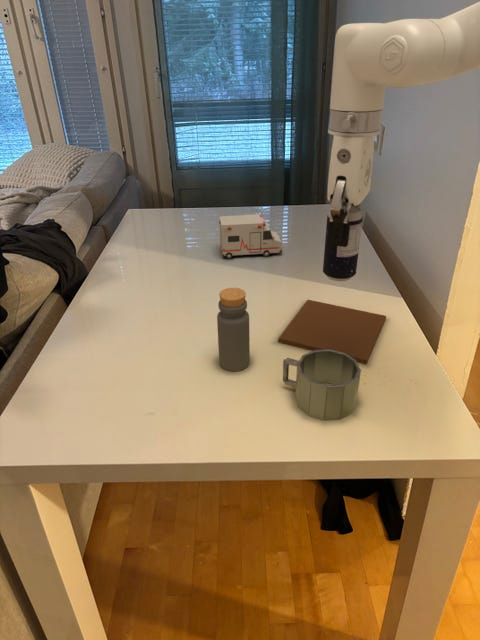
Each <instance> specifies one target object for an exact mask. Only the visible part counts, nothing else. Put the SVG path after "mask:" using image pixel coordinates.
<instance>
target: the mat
mask: <svg viewBox="0 0 480 640" xmlns="http://www.w3.org/2000/svg"><path fill="white" fill-rule="evenodd" d="M386 320H387V315H384V314H379V313H375V312H370V311H364V310H360V309H355V308H350V307H347V306H341V305H335V304H331V303H326V302H321V301H318V300H317V301H316V300H311V299H307V300H306V301H305V302H304V304H303V305H302V306H301V308H300V309H299V310H298V312H296V314H295V316H294V317H293V318H292V320H291V321H290V322H289V324H288V325H287V326H286V328H285V329H284V330H283V331H282V333H281V334H280V335H279V336H278V343H281V344H283V345H284V344H285V345H289V346H291V347H296V348H299V349H300V348H301V349H305V350H308V351H313V350H325V349H329V350H330V349H331V350H335V351H339V352H343V353H346V354H347V355H349V356H350V357H352V358H353V359H355V360H356V361H357V363H359V364H360V363H361V364H364V365H367V363H368V361H369V359H370V357H371V354H372V353H373V350H374V348H375V345H376V344H377V340H378V338H379V336H380V334H381V332H382V329H383V327H384V325H385V322H386Z"/></svg>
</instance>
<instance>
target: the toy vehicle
mask: <svg viewBox="0 0 480 640" xmlns="http://www.w3.org/2000/svg"><path fill="white" fill-rule="evenodd" d="M218 218H219V219H218V223H219V224H218V225H219V240H220V249H221V254H222V257H225V259H227V260H232V258H233V256H244V255H245V256H247V255H248V256H249V255H263V257H265V258H267V257H270V255H271V254H280V253H281V254H282V253H283V249H282V240H281V239H280V236H279V234H278V232H277V231H273V230H271V228H270V226H269V223H268V222H267V220H265V219H264V217H263V215H262V214H259V213H257V214H242V215H241V214H239V215H220V216H219V217H218Z"/></svg>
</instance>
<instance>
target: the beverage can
mask: <svg viewBox="0 0 480 640" xmlns="http://www.w3.org/2000/svg"><path fill="white" fill-rule="evenodd" d="M341 209H344V211H345V210H346V207H344V206H342V208H341ZM330 214H331V207H330V208H329V212H328V214H327V216H326V227H325V238H324V240H325V242H324V250H323V251H324V252H323V262H322V263H323V264H322V273H323V274H325V276H326V277H327V278H328V279H329V280H331V281H334V282H346V281H349V280H351V278H353V277H354V276H356V274H357V268H358V260H359V252H360V245H361V244H360V243H361V235H362V226H363V219H364V217H363V215H362V208H361V207H360V208H359V207H357V206H353V205H351V210H350V215H349V221H348V222H350V231H349V240H348V245H347V247H341V246H334V245H329V244H328V234H329V222H330Z"/></svg>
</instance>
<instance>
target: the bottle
mask: <svg viewBox="0 0 480 640" xmlns="http://www.w3.org/2000/svg"><path fill="white" fill-rule="evenodd" d="M246 296H247V293H246V291H245V290H244V289H242V288H239V287H228V288H223V289H222V290H220V291H219V292H218V297H219V301H218V302H217V303H218V310H219V312H217V315H216V323H217V345H218V362H219V366H220V367H221V368H222V369H223V370H226V371H229V372H240V371H242V370H245V369H246V368H247V367H248V366H250V361H251V360H250V359H251V357H250V356H251V355H250V353H251V351H250V349H251V348H250V345H251V343H250V341H251V339H250V314H249V312H248V311H247V309H248V302H247V300H246Z"/></svg>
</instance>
